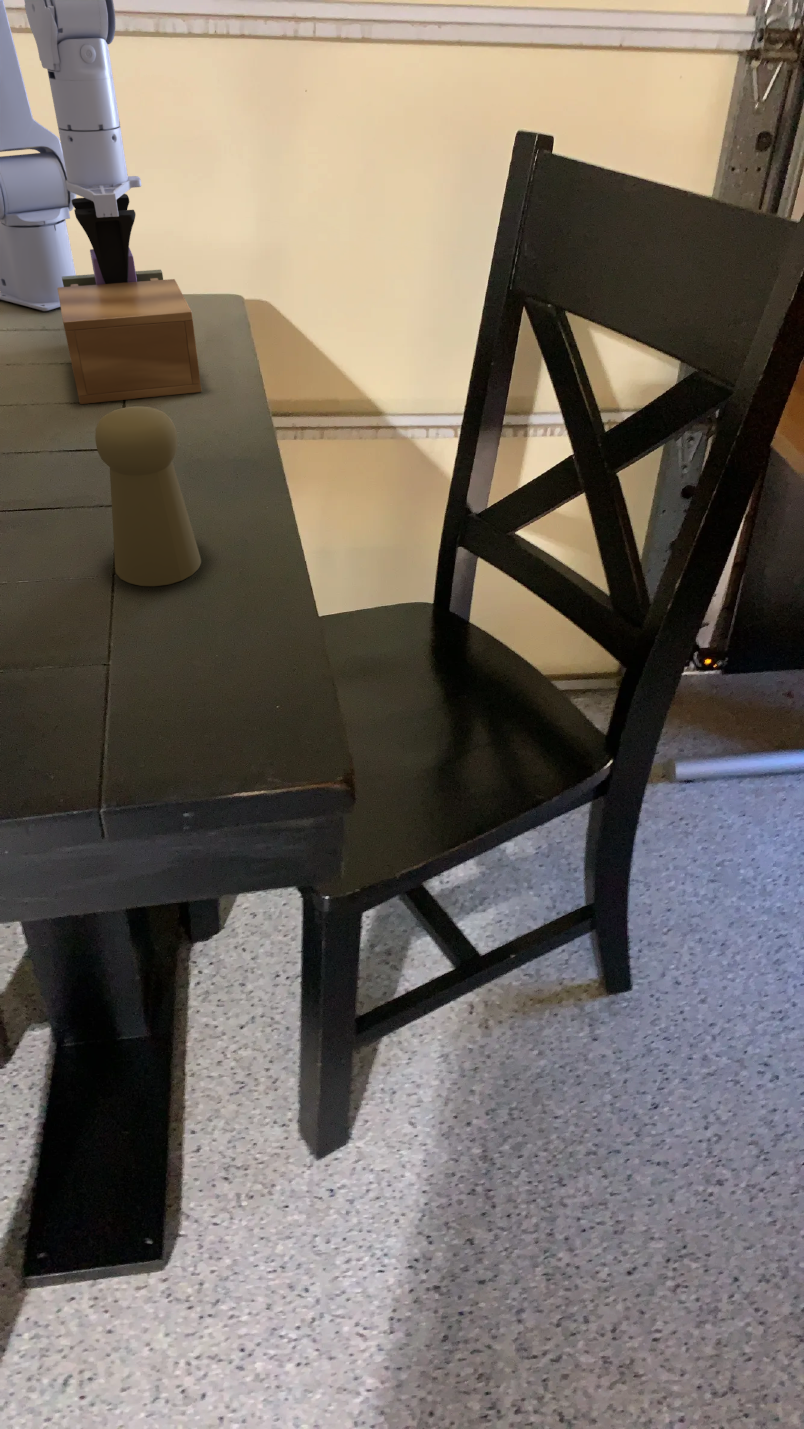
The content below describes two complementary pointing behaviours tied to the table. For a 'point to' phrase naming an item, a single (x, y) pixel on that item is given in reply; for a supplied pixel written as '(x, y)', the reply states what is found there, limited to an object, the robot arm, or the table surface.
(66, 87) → the robot arm
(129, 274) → the block
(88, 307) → the cabinet
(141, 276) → the drawer
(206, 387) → the table surface
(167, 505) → the tan pawn
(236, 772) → the table surface
